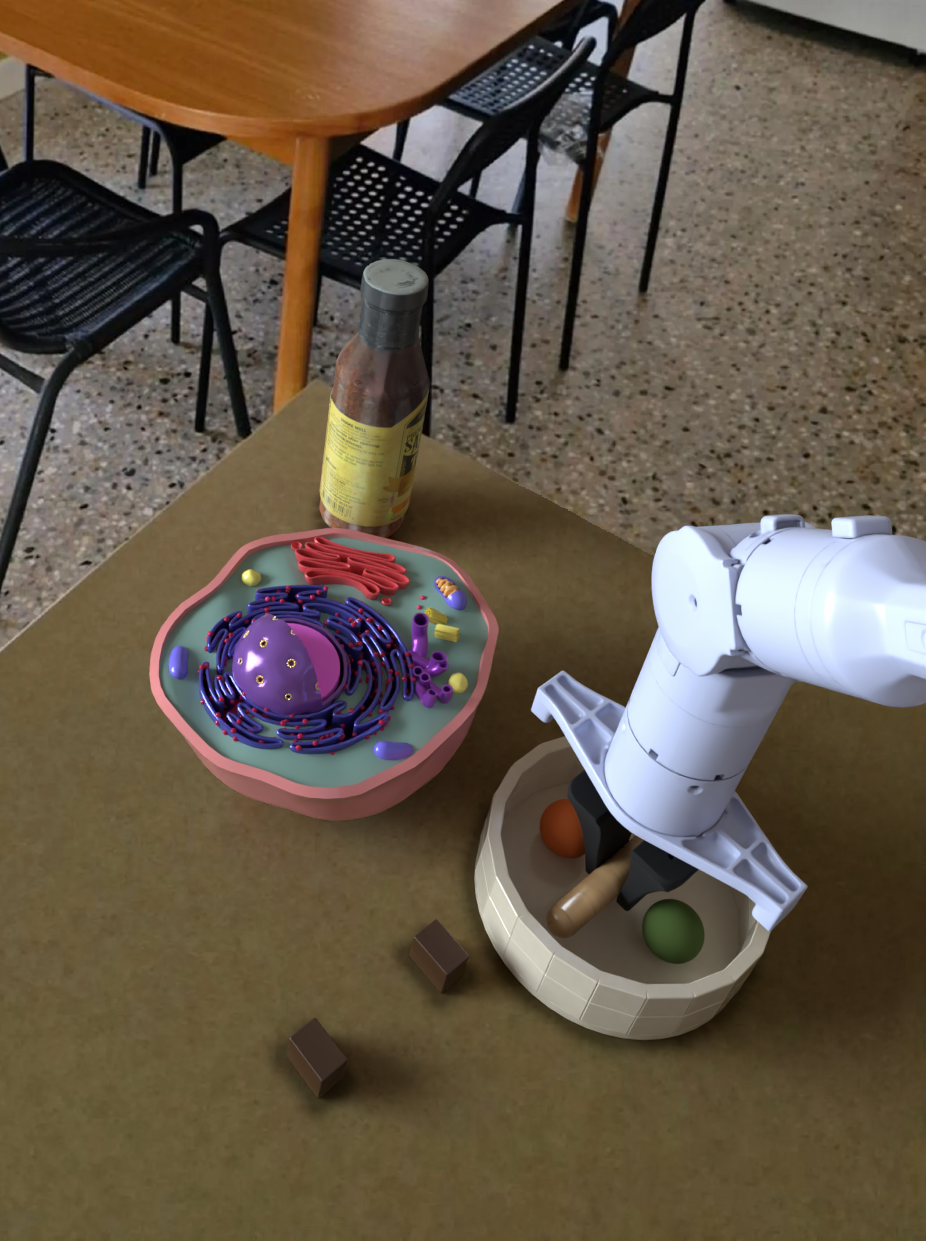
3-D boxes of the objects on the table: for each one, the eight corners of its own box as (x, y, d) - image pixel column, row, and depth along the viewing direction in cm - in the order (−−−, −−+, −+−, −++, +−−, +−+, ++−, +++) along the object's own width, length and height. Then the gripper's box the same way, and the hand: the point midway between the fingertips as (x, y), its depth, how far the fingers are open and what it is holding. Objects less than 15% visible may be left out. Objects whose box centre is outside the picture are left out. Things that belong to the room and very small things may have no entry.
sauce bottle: (408, 549, 85) (455, 315, 72) (317, 544, 85) (348, 308, 72) (402, 482, 90) (444, 252, 78) (315, 477, 90) (344, 246, 77)
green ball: (706, 951, 64) (724, 922, 62) (670, 987, 62) (687, 958, 60) (660, 906, 66) (675, 876, 64) (623, 939, 64) (638, 910, 62)
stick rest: (430, 937, 64) (436, 918, 63) (463, 975, 63) (470, 956, 61) (285, 1056, 59) (288, 1037, 58) (317, 1100, 58) (322, 1082, 57)
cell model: (542, 768, 72) (586, 644, 65) (247, 940, 63) (261, 818, 56) (372, 573, 83) (394, 448, 76) (99, 697, 74) (95, 568, 67)
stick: (672, 809, 68) (680, 792, 67) (696, 830, 67) (704, 814, 66) (536, 925, 63) (543, 909, 62) (560, 950, 62) (567, 934, 61)
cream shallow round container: (803, 926, 66) (832, 882, 63) (630, 1105, 59) (655, 1064, 56) (593, 736, 74) (611, 689, 71) (418, 871, 67) (431, 825, 64)
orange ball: (601, 848, 68) (614, 818, 66) (564, 879, 66) (577, 849, 65) (559, 808, 70) (571, 778, 68) (523, 837, 68) (534, 807, 66)
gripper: (881, 795, 55) (780, 945, 63) (621, 586, 63) (563, 744, 72) (789, 886, 51) (695, 1033, 59) (527, 652, 59) (477, 809, 68)
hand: (617, 880), depth 65 cm, fingers closed on stick, 1 cm apart
